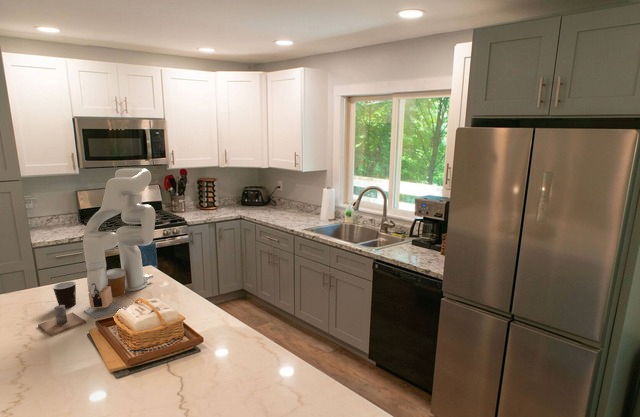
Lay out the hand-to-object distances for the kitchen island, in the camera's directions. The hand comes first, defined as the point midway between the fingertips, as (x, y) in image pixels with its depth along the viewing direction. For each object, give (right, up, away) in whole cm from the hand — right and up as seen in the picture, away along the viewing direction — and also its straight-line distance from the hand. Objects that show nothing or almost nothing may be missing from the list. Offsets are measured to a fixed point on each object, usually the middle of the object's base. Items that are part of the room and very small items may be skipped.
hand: (101, 302), depth 173 cm
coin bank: (0, -1, 0) cm, 1 cm away
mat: (0, -4, +1) cm, 4 cm away
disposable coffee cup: (-2, 0, +17) cm, 17 cm away
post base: (-10, -6, -12) cm, 16 cm away
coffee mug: (-19, -3, +7) cm, 20 cm away
